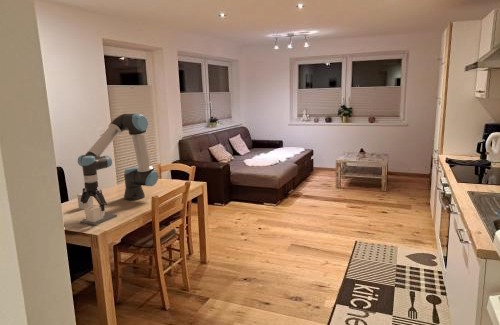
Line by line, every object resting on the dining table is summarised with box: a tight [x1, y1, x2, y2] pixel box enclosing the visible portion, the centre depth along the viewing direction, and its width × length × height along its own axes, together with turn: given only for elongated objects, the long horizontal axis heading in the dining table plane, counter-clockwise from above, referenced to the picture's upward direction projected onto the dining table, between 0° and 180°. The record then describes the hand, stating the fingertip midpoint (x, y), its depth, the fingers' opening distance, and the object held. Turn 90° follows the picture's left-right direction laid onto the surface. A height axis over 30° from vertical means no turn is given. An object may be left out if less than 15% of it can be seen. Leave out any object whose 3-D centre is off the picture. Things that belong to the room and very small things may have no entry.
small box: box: [77, 192, 94, 210], centre depth 247 cm, size 8×6×10 cm
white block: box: [84, 204, 103, 222], centre depth 219 cm, size 7×7×8 cm
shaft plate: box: [79, 212, 118, 227], centre depth 222 cm, size 18×12×6 cm, turn 154°
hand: (94, 214), depth 220 cm, fingers open, 13 cm apart
